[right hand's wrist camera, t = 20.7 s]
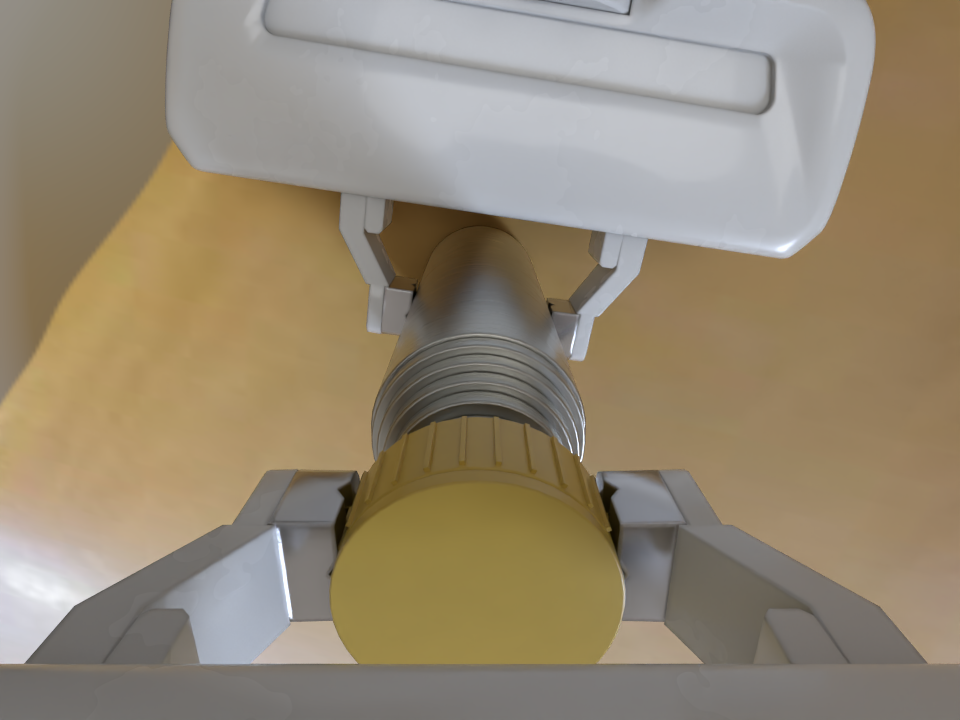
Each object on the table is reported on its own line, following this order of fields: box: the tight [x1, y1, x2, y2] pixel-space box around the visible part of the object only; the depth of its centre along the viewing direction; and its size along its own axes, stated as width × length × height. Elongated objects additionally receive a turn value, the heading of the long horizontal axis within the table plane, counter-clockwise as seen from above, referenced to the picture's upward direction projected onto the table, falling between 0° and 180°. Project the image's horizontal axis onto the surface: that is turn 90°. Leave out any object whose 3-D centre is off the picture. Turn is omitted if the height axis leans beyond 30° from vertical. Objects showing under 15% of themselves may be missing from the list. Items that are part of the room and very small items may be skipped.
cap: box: [329, 416, 625, 664], centre depth 9 cm, size 4×4×2 cm
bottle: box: [371, 226, 586, 462], centre depth 17 cm, size 5×5×18 cm
